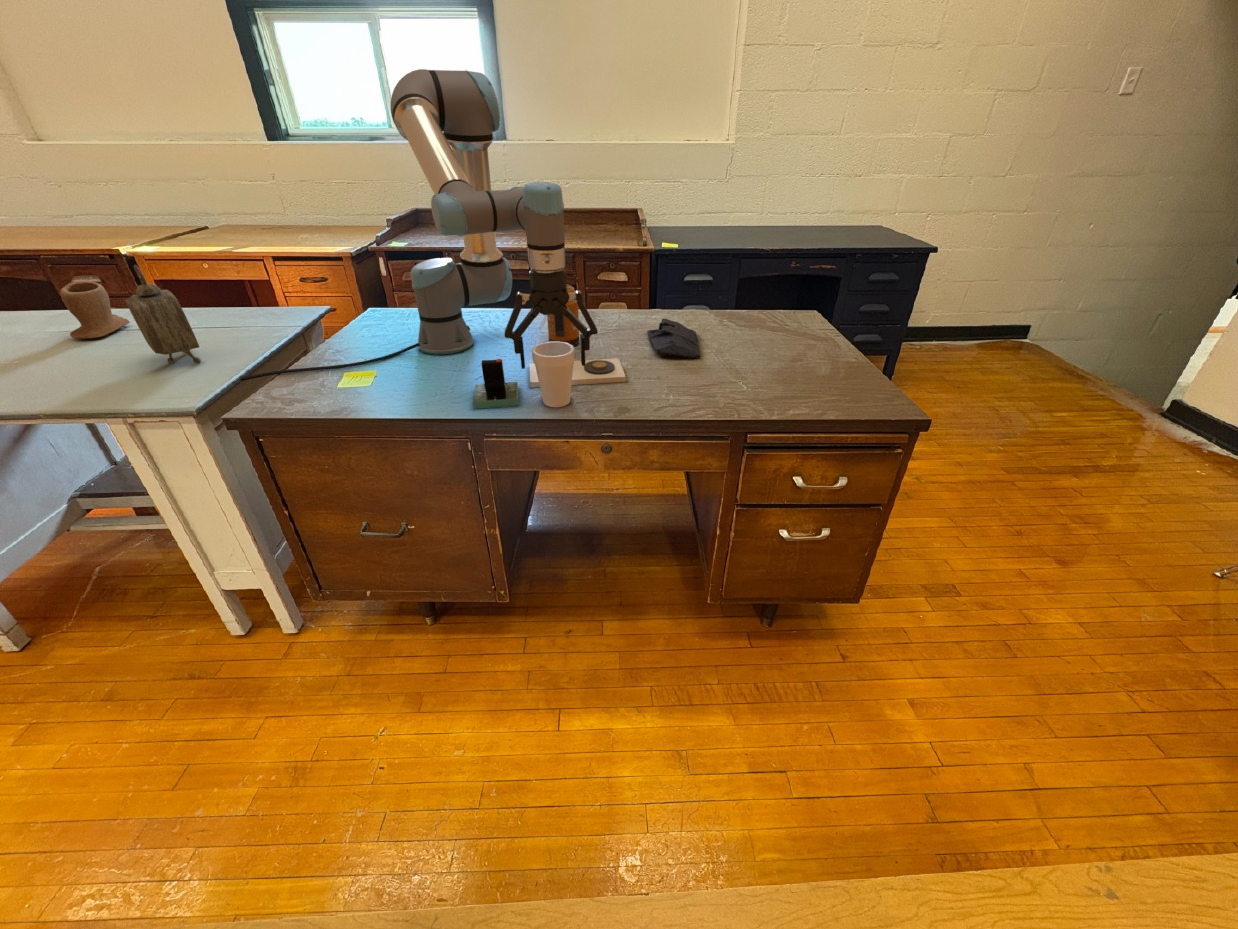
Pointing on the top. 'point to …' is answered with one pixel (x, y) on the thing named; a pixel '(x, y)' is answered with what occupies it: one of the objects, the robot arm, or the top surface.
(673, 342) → the dark grey folded cloth
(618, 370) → the hob
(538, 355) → the foam cup
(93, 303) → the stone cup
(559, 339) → the canister
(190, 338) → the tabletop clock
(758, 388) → the top surface
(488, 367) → the tall black monolith
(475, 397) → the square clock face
